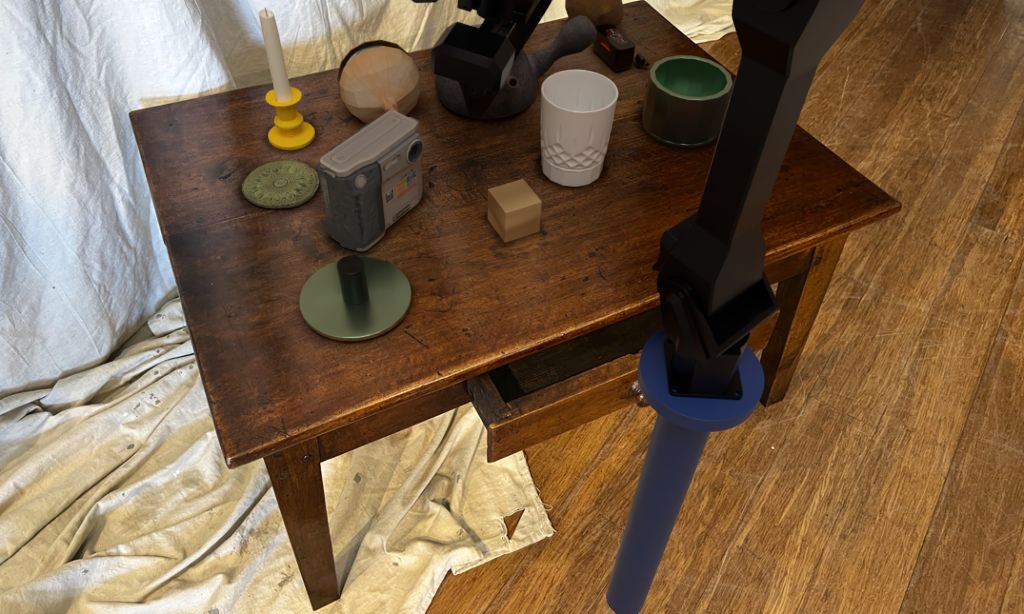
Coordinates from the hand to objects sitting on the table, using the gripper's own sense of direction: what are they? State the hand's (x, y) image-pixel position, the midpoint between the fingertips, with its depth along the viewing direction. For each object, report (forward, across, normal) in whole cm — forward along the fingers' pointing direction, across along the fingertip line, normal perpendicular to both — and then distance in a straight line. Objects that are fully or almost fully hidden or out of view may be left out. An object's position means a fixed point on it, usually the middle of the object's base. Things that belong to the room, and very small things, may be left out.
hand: (492, 89), depth 77 cm
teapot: (+14, -16, -1) cm, 21 cm away
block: (+11, +6, +6) cm, 14 cm away
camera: (+13, +10, -8) cm, 18 cm away
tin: (+11, -18, +19) cm, 28 cm away
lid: (+11, +21, -5) cm, 24 cm away
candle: (+15, 0, -23) cm, 27 cm away
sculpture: (+14, -6, -14) cm, 21 cm away
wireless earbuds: (+13, -29, +9) cm, 33 cm away
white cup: (+12, -5, +9) cm, 16 cm away
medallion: (+14, +9, -19) cm, 25 cm away
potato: (+9, -39, +6) cm, 40 cm away
